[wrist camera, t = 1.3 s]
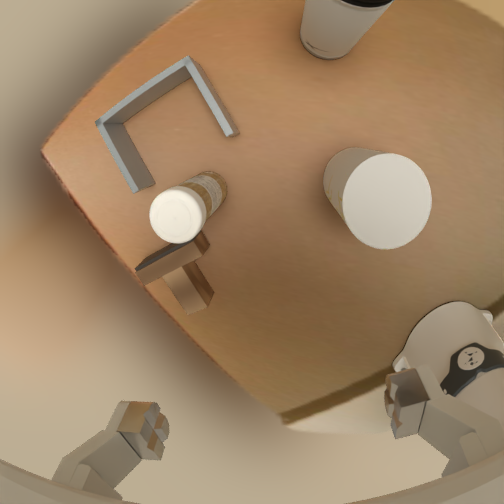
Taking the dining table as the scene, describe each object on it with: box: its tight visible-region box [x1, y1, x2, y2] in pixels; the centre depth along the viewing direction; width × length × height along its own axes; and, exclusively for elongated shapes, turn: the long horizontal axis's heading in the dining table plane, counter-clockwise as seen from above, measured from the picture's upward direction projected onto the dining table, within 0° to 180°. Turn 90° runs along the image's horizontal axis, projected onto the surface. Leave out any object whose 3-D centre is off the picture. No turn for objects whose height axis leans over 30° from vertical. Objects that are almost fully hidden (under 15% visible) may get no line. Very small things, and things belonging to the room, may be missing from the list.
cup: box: [323, 147, 432, 249], centre depth 30 cm, size 8×8×12 cm
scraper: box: [135, 230, 214, 315], centre depth 39 cm, size 8×9×4 cm
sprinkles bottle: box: [149, 172, 227, 243], centre depth 31 cm, size 5×5×13 cm
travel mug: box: [300, 0, 394, 60], centre depth 20 cm, size 6×7×20 cm
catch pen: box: [95, 56, 239, 194], centre depth 32 cm, size 10×13×5 cm
